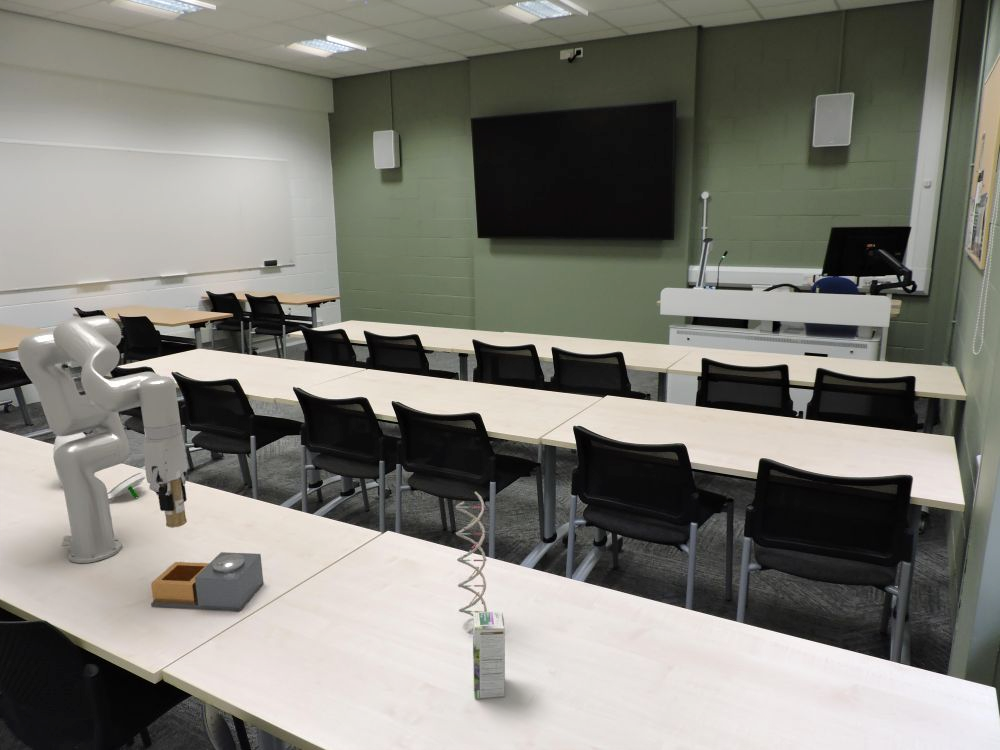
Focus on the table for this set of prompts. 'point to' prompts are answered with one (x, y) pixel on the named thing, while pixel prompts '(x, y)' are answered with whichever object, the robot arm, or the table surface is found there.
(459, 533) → the dna model
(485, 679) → the syrup box
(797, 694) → the table surface
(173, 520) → the spice jar
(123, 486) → the tabbed white plastic disc
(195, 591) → the grey orange box device
